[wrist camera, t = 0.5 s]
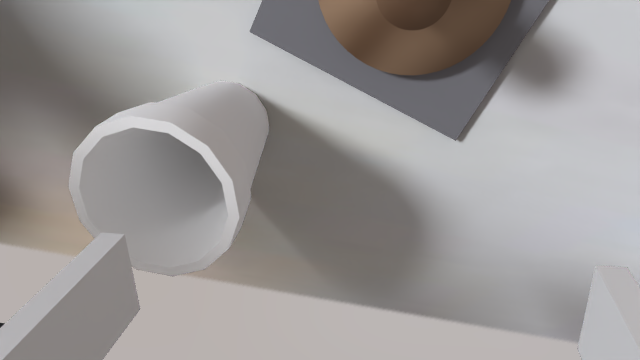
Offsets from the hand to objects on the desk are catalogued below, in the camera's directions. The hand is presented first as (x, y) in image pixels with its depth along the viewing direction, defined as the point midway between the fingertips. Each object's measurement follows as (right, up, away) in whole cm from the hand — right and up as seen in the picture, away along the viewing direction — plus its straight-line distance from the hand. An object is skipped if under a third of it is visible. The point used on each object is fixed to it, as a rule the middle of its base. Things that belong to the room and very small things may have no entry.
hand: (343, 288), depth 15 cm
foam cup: (-7, +7, +25) cm, 27 cm away
